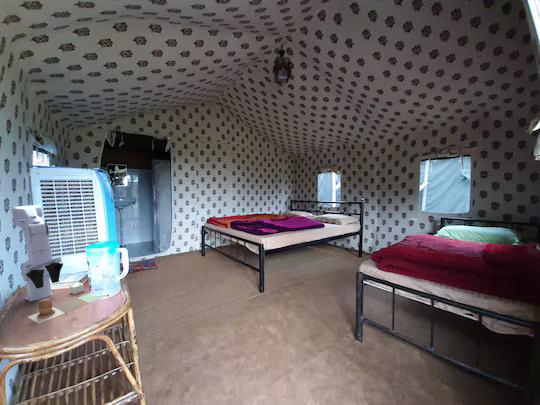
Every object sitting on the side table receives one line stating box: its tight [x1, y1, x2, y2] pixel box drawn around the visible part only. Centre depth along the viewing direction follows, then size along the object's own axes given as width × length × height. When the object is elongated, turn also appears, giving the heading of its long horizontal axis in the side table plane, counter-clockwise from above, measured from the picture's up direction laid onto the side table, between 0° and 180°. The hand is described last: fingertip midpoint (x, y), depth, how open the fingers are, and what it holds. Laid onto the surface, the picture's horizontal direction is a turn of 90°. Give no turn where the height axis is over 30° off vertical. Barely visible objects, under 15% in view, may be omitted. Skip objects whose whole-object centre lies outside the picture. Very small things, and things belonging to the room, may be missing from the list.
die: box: [69, 282, 85, 295], centre depth 118 cm, size 4×4×4 cm
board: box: [27, 292, 110, 325], centre depth 106 cm, size 10×25×1 cm, turn 152°
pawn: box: [37, 297, 55, 319], centre depth 99 cm, size 5×5×6 cm
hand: (47, 285), depth 99 cm, fingers open, 7 cm apart
